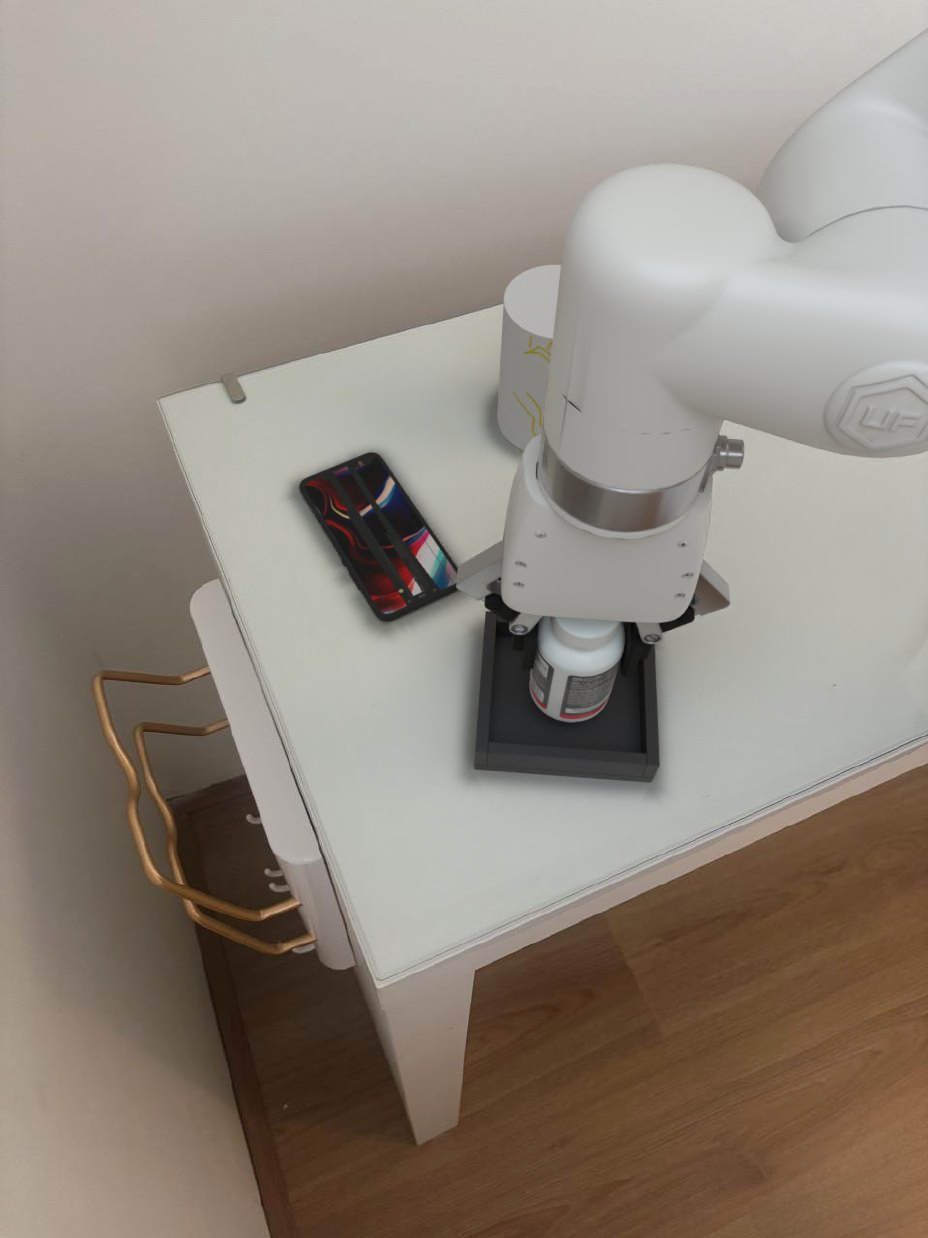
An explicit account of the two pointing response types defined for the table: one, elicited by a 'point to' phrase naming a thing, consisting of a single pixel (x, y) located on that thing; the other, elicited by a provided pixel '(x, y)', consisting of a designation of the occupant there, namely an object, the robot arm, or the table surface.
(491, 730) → the tray
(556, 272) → the cup
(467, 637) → the table surface
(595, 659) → the pill bottle
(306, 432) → the table surface
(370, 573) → the smartphone
